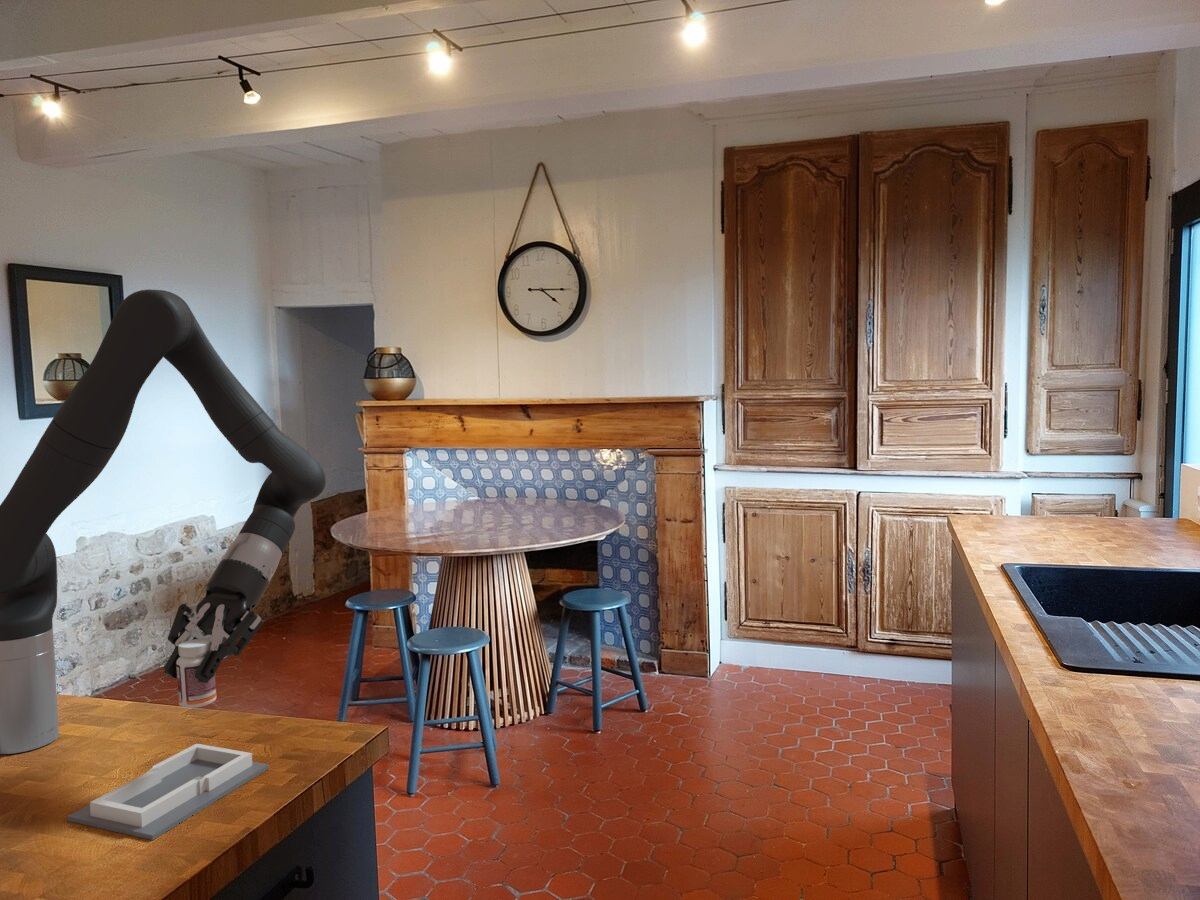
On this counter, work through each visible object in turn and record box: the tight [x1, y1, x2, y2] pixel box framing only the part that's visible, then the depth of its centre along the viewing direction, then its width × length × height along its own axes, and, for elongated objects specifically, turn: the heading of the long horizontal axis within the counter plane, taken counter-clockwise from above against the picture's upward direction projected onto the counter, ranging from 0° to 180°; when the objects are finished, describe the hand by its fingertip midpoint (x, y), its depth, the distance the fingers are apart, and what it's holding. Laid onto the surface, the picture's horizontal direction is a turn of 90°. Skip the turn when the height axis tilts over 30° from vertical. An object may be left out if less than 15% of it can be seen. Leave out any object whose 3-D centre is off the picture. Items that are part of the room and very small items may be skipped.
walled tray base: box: [66, 743, 270, 841], centre depth 114 cm, size 14×20×2 cm
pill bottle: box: [176, 638, 217, 709], centre depth 117 cm, size 5×5×8 cm
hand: (185, 677), depth 115 cm, fingers closed on pill bottle, 4 cm apart
